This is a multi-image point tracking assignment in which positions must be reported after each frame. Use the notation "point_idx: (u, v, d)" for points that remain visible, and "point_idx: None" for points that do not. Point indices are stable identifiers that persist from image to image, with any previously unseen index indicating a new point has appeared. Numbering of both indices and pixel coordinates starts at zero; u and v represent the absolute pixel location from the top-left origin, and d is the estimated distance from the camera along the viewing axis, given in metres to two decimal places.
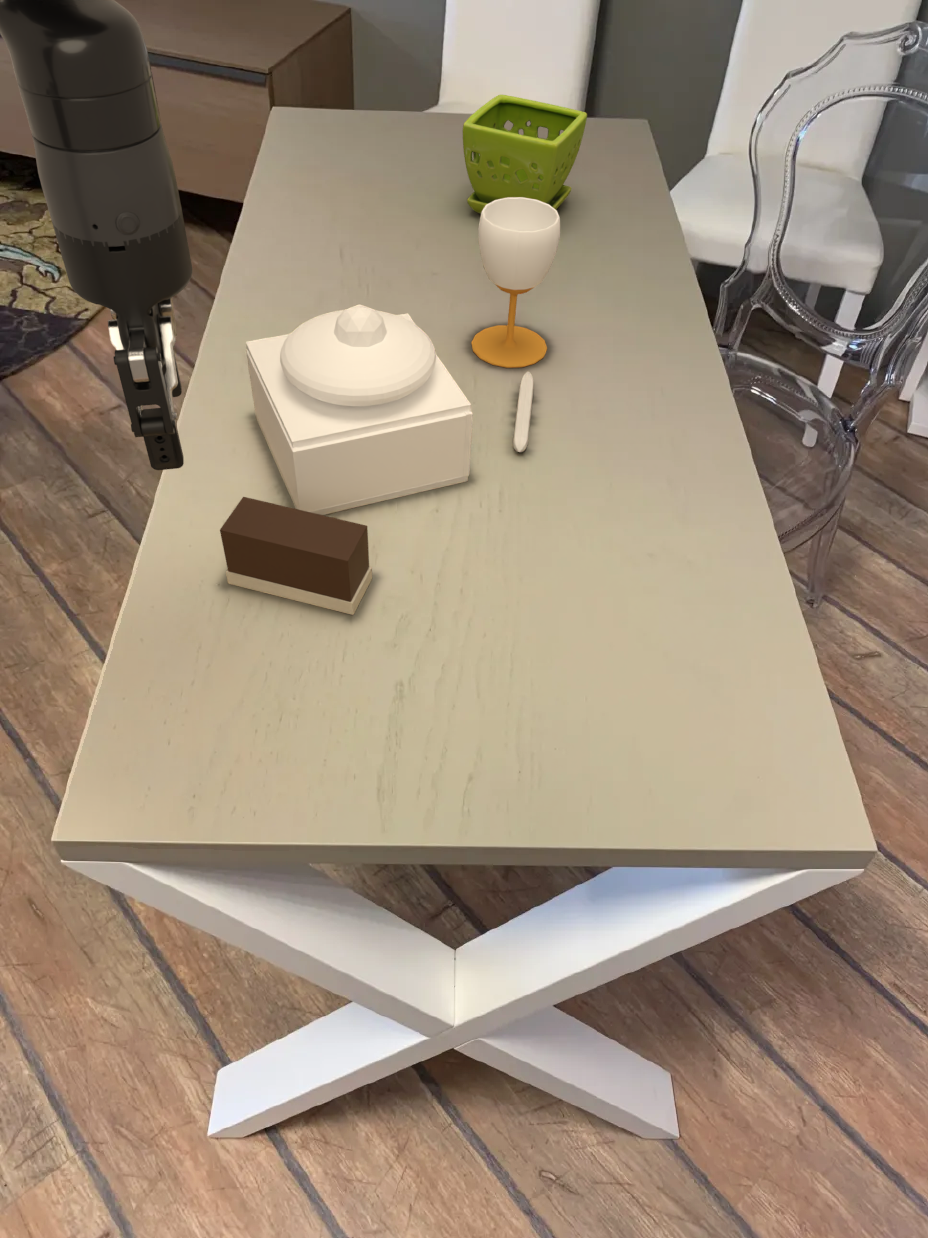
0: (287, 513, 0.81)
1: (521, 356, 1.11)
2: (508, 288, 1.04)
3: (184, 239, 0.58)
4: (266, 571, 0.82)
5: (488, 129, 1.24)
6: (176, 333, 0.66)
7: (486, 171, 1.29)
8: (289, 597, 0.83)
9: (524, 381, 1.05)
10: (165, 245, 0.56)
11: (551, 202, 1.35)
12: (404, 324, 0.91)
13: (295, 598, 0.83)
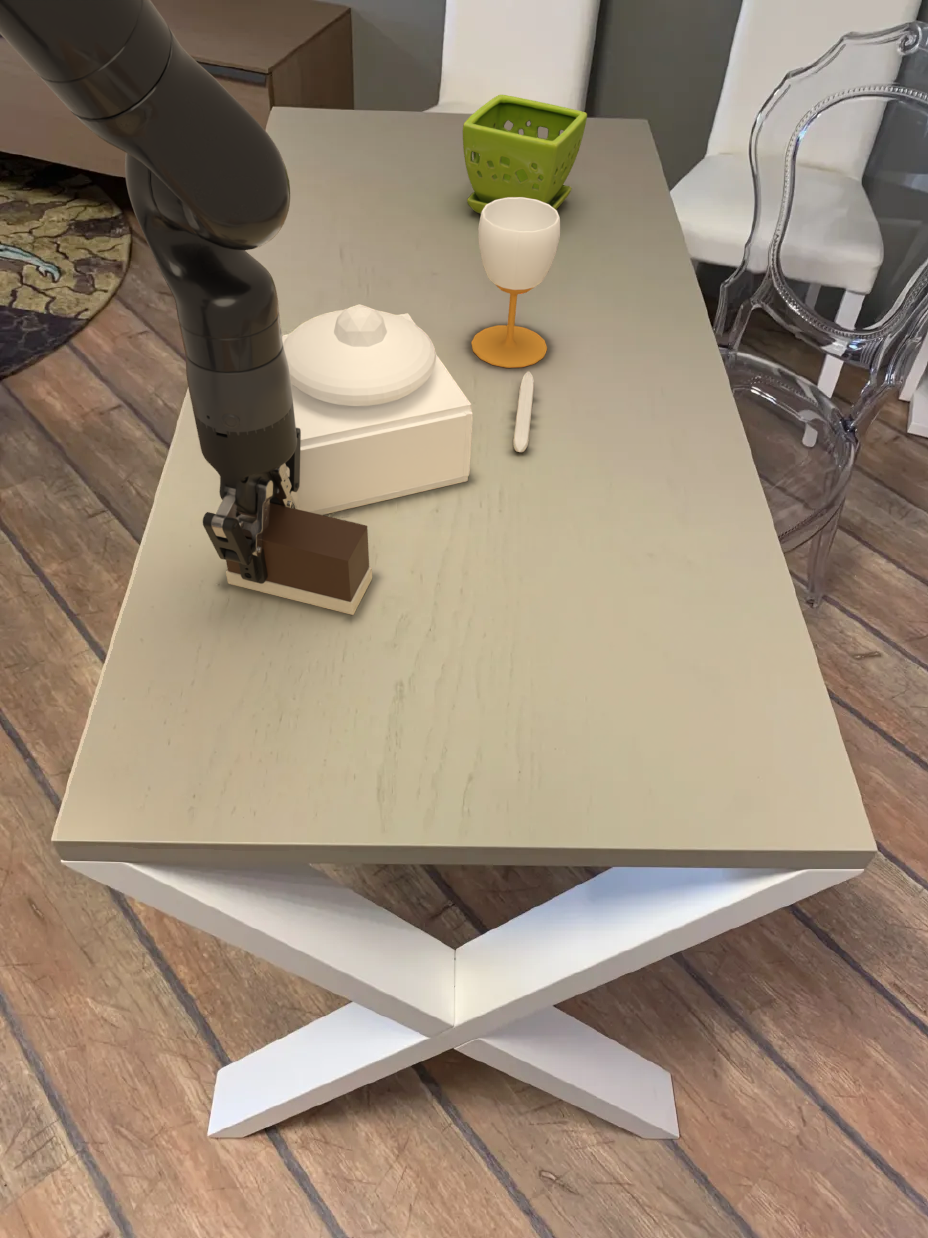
0: (287, 513, 0.81)
1: (521, 356, 1.11)
2: (508, 288, 1.04)
3: (284, 434, 0.72)
4: None
5: (488, 129, 1.24)
6: (286, 496, 0.80)
7: (486, 171, 1.29)
8: (289, 597, 0.83)
9: (524, 381, 1.05)
10: (261, 439, 0.70)
11: (551, 202, 1.35)
12: (404, 324, 0.91)
13: (295, 598, 0.83)
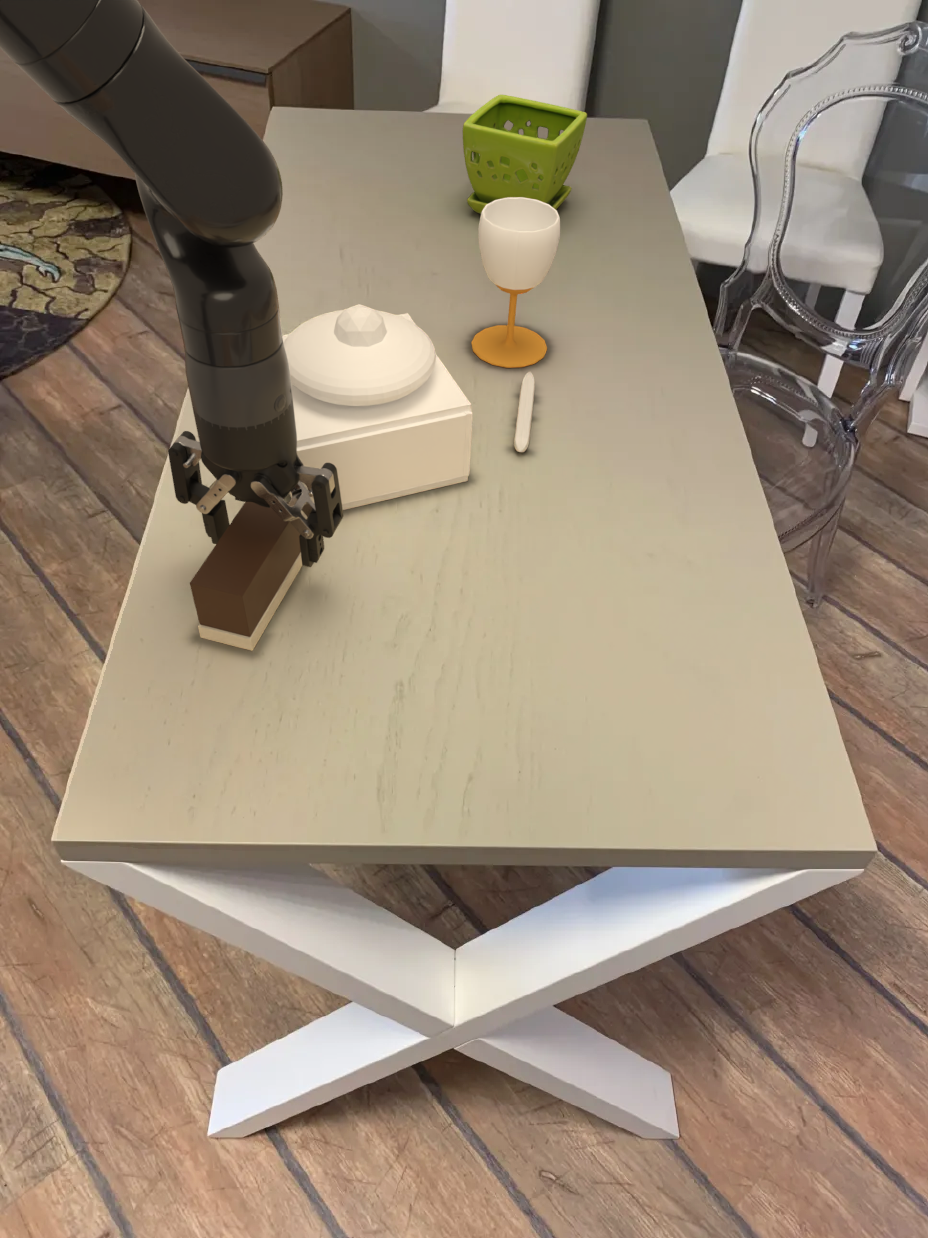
0: (269, 536, 0.79)
1: (521, 356, 1.11)
2: (508, 288, 1.04)
3: (213, 439, 0.70)
4: None
5: (488, 129, 1.24)
6: (280, 517, 0.77)
7: (486, 171, 1.29)
8: None
9: (525, 381, 1.05)
10: (196, 420, 0.71)
11: (551, 202, 1.35)
12: (404, 324, 0.91)
13: None
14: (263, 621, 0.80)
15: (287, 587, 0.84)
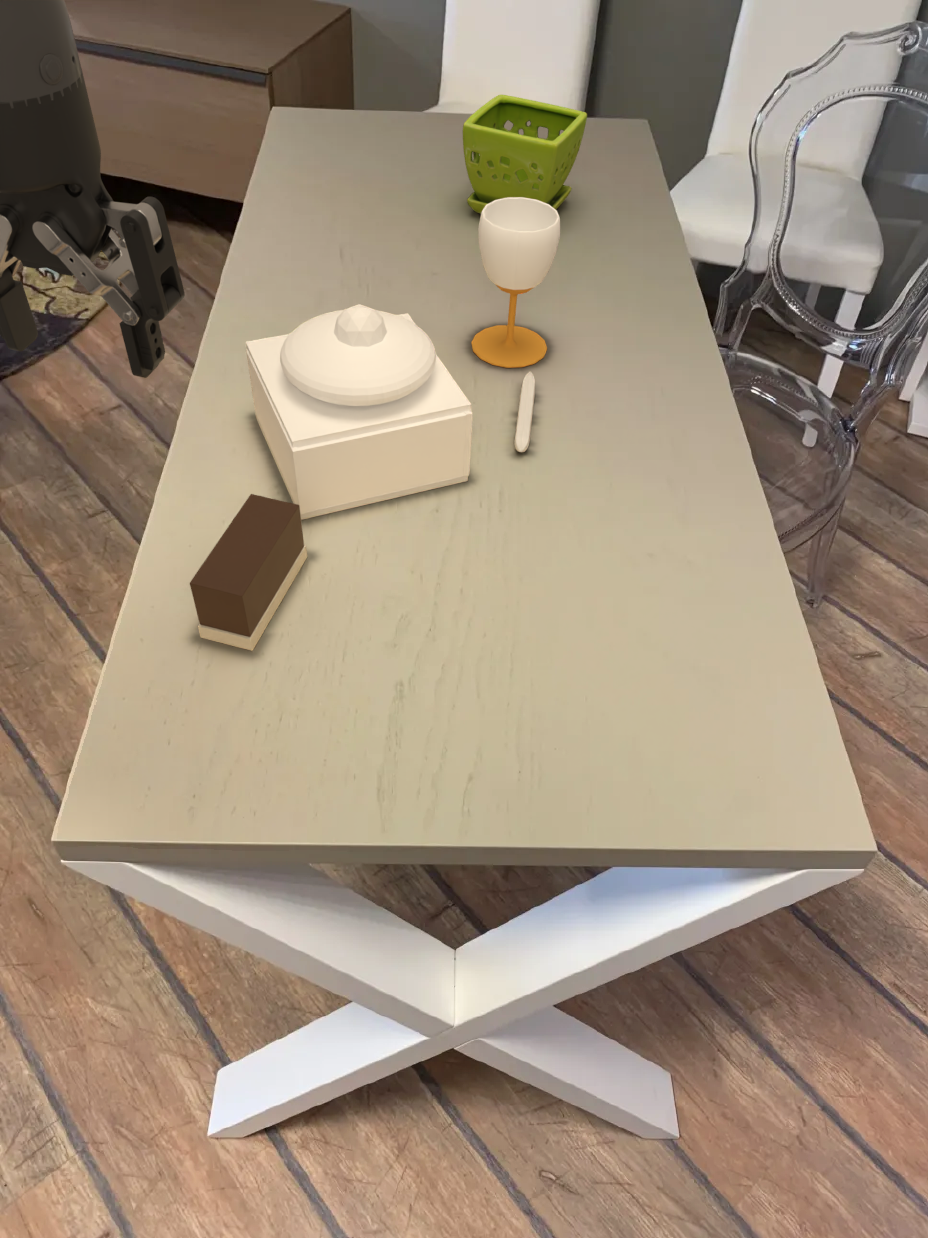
0: (269, 536, 0.79)
1: (521, 356, 1.11)
2: (508, 288, 1.04)
3: None
4: None
5: (488, 129, 1.24)
6: None
7: (486, 171, 1.29)
8: None
9: (526, 381, 1.05)
10: None
11: (551, 202, 1.35)
12: (404, 324, 0.91)
13: None
14: (263, 621, 0.80)
15: (287, 587, 0.84)
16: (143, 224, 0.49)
